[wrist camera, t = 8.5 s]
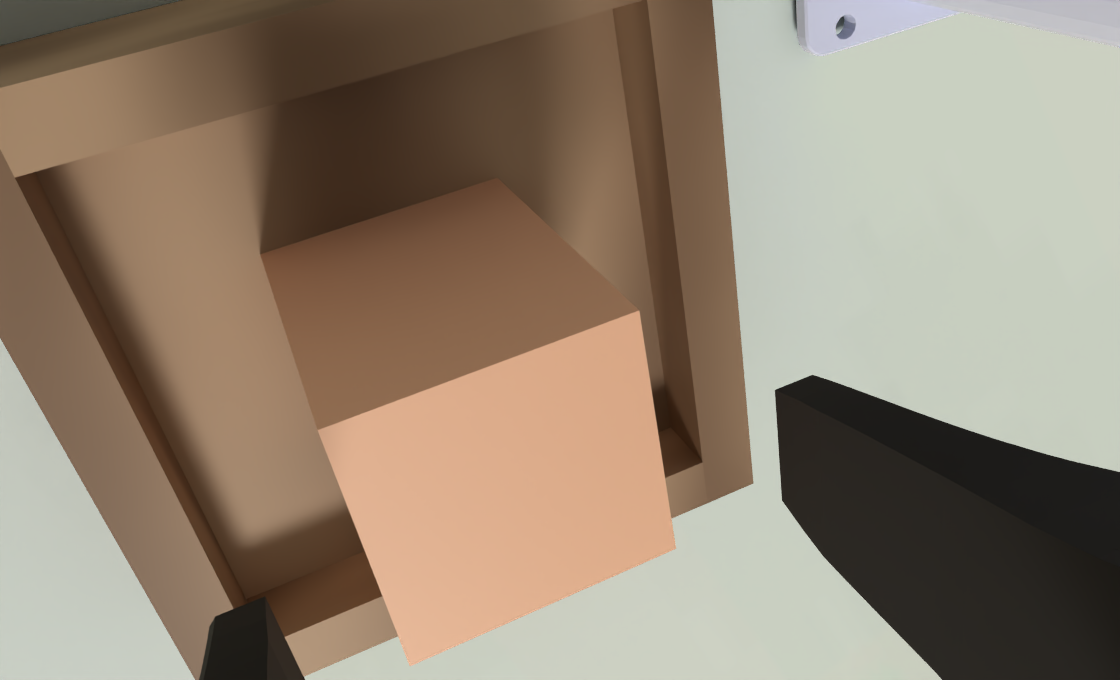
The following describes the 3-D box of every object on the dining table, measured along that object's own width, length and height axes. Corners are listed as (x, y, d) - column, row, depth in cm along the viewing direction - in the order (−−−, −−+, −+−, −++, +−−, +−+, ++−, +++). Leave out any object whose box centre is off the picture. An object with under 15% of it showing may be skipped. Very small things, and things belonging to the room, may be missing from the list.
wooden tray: (613, -108, 18) (703, -95, 16) (680, 407, 25) (753, 483, 22) (-79, 65, 15) (-124, 120, 13) (203, 598, 22) (214, 714, 19)
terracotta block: (497, 177, 18) (639, 310, 13) (541, 374, 20) (676, 548, 15) (260, 254, 17) (317, 429, 12) (335, 451, 19) (409, 666, 14)
